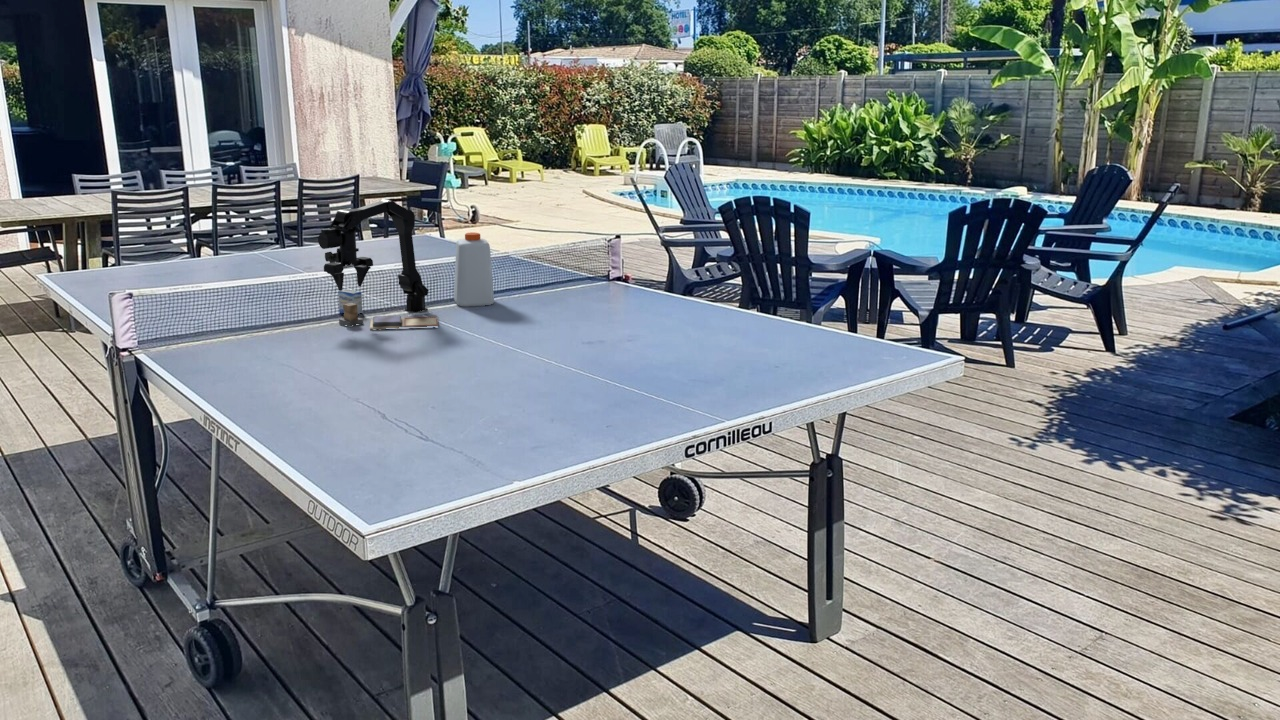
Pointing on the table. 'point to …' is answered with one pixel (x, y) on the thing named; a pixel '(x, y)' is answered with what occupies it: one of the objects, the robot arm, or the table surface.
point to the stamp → (350, 315)
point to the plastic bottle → (473, 272)
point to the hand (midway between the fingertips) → (350, 288)
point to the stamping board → (401, 322)
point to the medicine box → (350, 299)
